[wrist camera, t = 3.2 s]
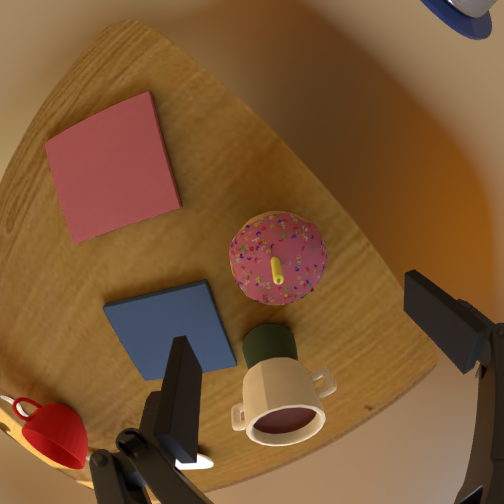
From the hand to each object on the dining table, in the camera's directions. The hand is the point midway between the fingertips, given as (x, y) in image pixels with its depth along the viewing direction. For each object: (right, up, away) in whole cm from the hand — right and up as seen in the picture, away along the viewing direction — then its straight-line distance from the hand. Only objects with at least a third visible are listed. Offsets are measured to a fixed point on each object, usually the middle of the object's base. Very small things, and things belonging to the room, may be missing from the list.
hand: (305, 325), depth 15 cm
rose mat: (-17, +12, +9) cm, 23 cm away
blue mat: (-13, -6, +16) cm, 21 cm away
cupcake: (-1, +5, +13) cm, 14 cm away
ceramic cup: (-40, -25, +21) cm, 51 cm away
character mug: (-1, -7, +18) cm, 19 cm away
